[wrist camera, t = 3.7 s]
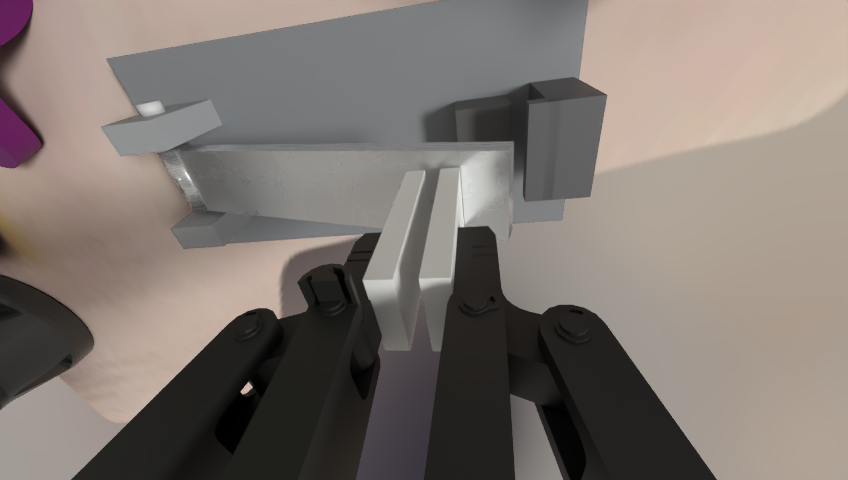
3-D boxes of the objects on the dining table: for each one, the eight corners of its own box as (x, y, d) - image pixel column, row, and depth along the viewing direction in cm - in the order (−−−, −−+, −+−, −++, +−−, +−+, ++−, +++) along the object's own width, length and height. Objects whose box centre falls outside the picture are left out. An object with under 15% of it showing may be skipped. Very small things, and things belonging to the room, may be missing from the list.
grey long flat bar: (210, 199, 23) (186, 211, 22) (178, 143, 21) (150, 153, 19) (513, 224, 15) (507, 246, 14) (515, 137, 13) (507, 154, 11)
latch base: (231, 231, 29) (176, 284, 24) (132, 55, 22) (14, 70, 16) (555, 206, 25) (584, 263, 19) (578, -23, 17) (638, -41, 12)
